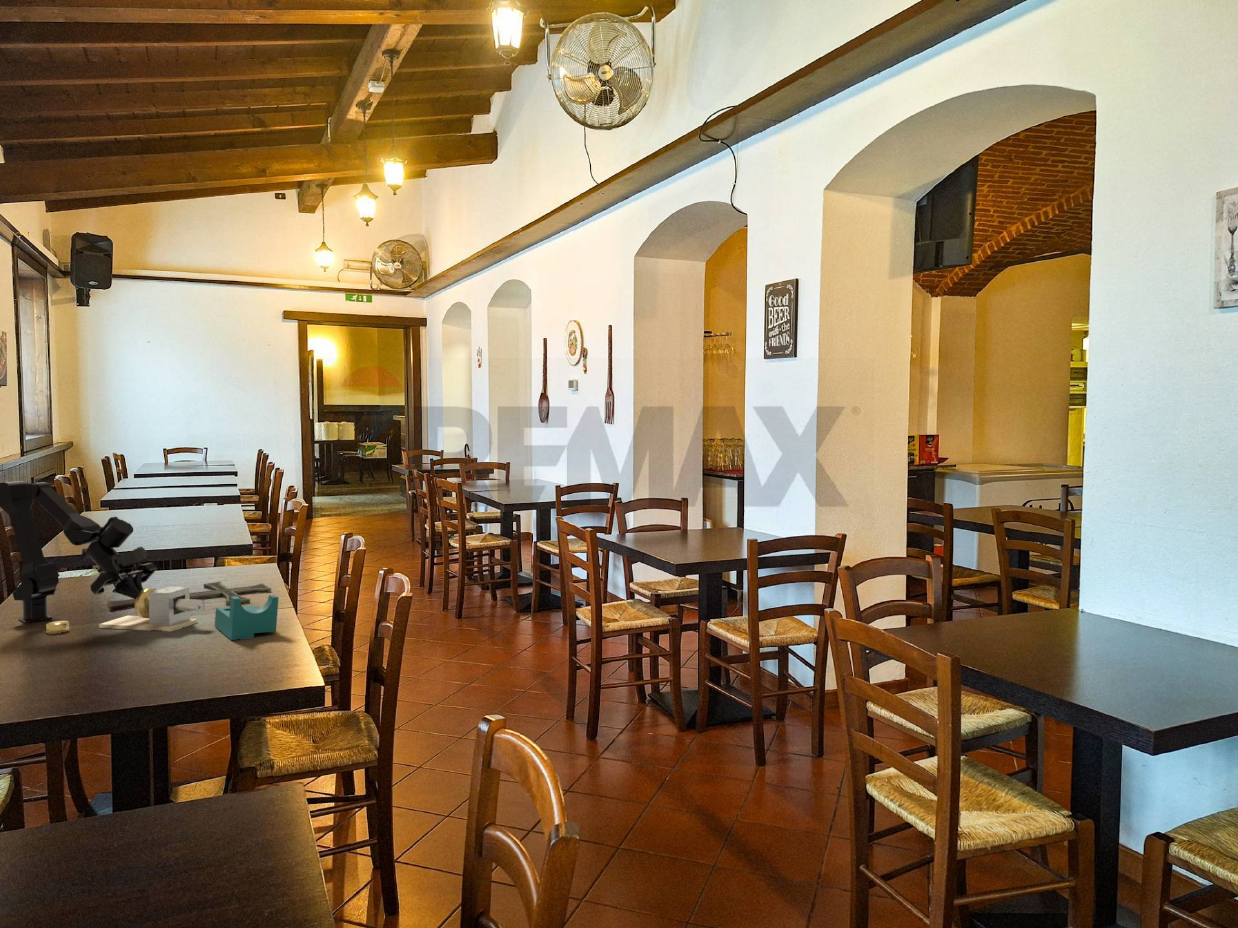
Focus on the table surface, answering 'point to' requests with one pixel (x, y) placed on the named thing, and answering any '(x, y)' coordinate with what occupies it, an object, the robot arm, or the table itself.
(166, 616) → the bearing block
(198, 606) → the shaft
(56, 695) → the table surface
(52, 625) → the spacer
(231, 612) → the teal saddle bracket
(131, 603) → the cross
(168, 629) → the board
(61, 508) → the robot arm
